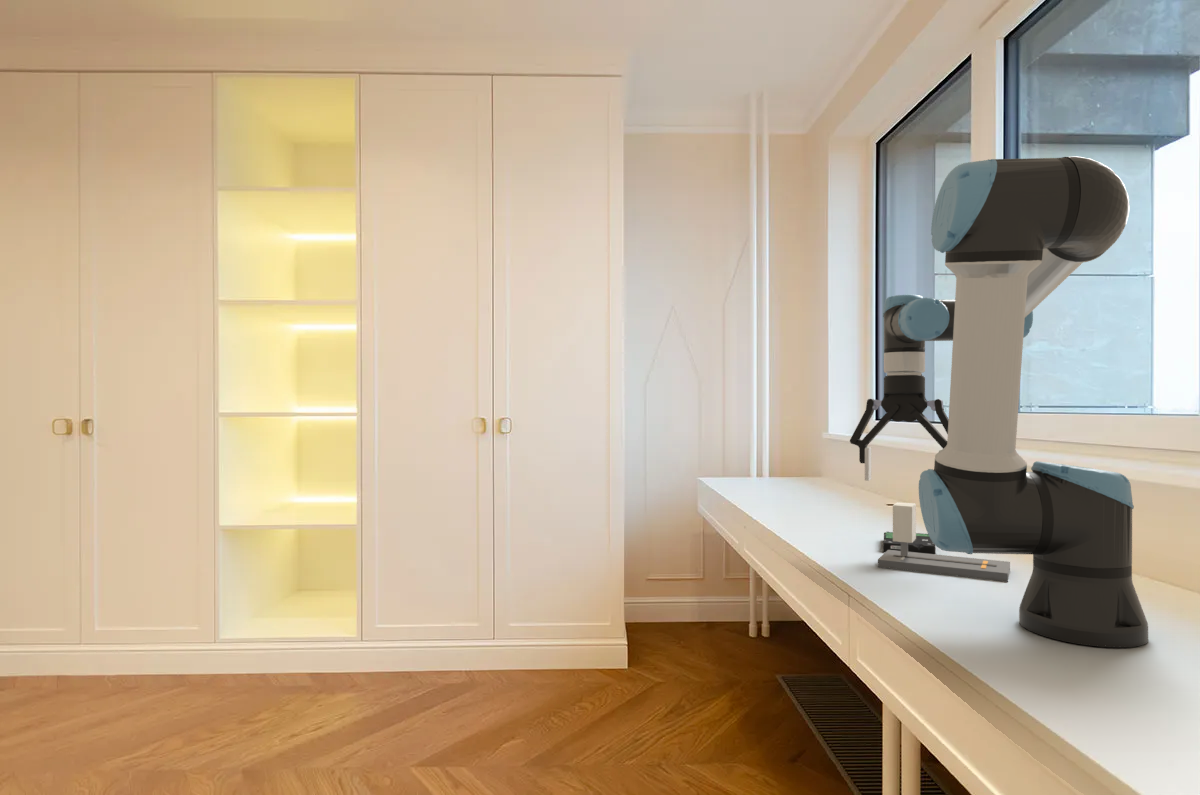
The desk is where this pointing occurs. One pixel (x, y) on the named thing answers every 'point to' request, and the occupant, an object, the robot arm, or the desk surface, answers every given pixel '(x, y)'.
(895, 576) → the desk surface
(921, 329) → the robot arm
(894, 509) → the fader
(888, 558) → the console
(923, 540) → the disk drive
